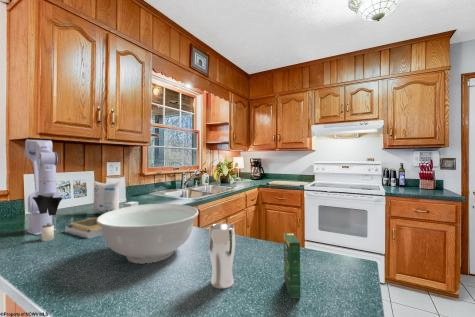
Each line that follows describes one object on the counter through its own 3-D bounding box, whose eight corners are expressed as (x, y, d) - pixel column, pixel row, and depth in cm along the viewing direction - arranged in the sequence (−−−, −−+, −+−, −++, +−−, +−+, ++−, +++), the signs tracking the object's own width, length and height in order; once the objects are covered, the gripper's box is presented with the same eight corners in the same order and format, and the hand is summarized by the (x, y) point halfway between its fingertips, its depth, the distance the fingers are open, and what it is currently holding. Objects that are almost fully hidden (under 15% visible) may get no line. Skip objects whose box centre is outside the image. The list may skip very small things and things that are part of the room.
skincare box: (131, 229, 112) (130, 203, 112) (123, 228, 113) (122, 203, 113) (138, 225, 118) (138, 201, 118) (131, 225, 119) (131, 201, 119)
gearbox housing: (65, 232, 108) (65, 223, 108) (98, 224, 121) (98, 216, 121) (87, 238, 99) (87, 229, 99) (120, 229, 112) (120, 220, 112)
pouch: (112, 217, 135) (112, 182, 135) (88, 214, 142) (88, 181, 142) (124, 214, 142) (123, 180, 142) (100, 212, 149) (100, 180, 149)
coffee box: (283, 280, 64) (283, 232, 64) (294, 280, 64) (293, 232, 64) (288, 298, 56) (288, 242, 56) (301, 298, 56) (300, 242, 56)
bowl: (174, 282, 64) (173, 227, 64) (70, 272, 70) (70, 222, 70) (209, 241, 96) (209, 204, 96) (136, 236, 102) (136, 202, 101)
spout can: (39, 240, 98) (39, 223, 98) (51, 237, 101) (51, 221, 101) (44, 241, 96) (44, 225, 96) (55, 238, 99) (55, 222, 99)
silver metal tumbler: (209, 276, 67) (209, 223, 67) (234, 275, 67) (234, 222, 67) (208, 290, 60) (208, 230, 60) (236, 289, 60) (235, 229, 60)
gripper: (27, 181, 99) (27, 214, 99) (44, 182, 92) (44, 218, 92) (47, 180, 105) (47, 211, 105) (65, 181, 98) (65, 214, 98)
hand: (47, 214), depth 99 cm, fingers open, 7 cm apart
